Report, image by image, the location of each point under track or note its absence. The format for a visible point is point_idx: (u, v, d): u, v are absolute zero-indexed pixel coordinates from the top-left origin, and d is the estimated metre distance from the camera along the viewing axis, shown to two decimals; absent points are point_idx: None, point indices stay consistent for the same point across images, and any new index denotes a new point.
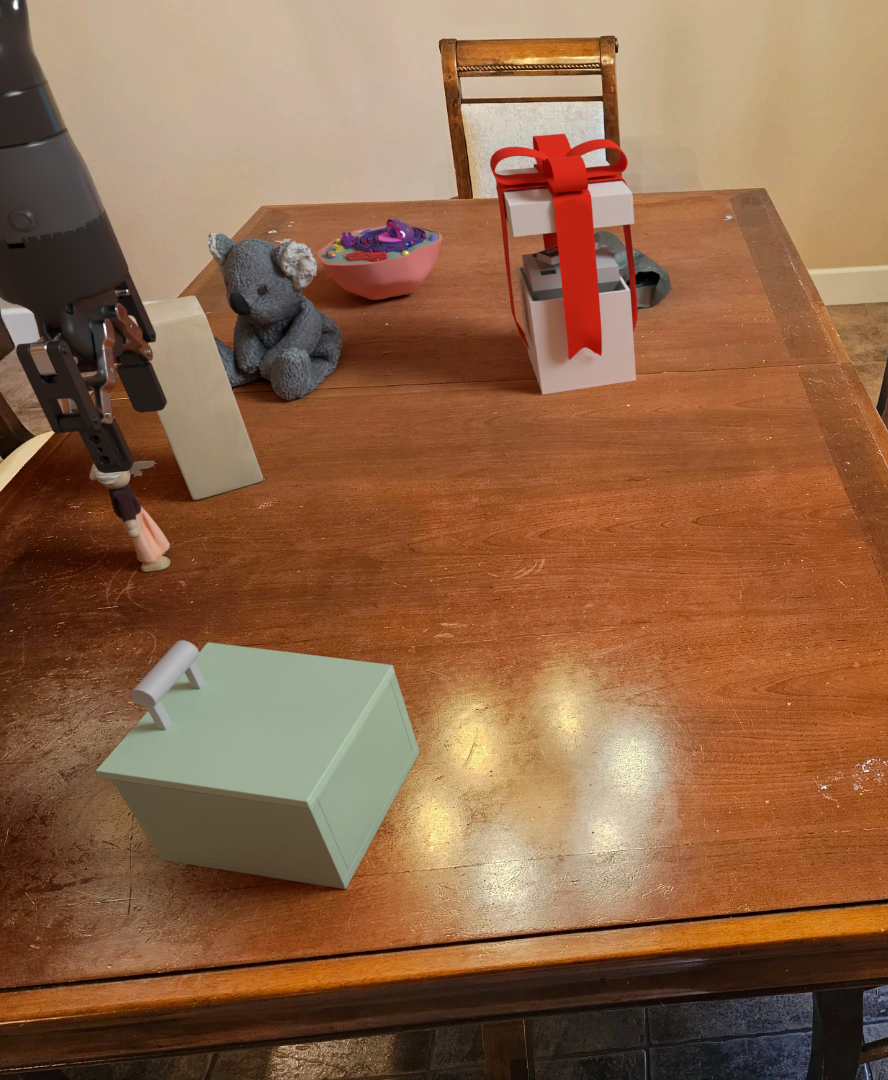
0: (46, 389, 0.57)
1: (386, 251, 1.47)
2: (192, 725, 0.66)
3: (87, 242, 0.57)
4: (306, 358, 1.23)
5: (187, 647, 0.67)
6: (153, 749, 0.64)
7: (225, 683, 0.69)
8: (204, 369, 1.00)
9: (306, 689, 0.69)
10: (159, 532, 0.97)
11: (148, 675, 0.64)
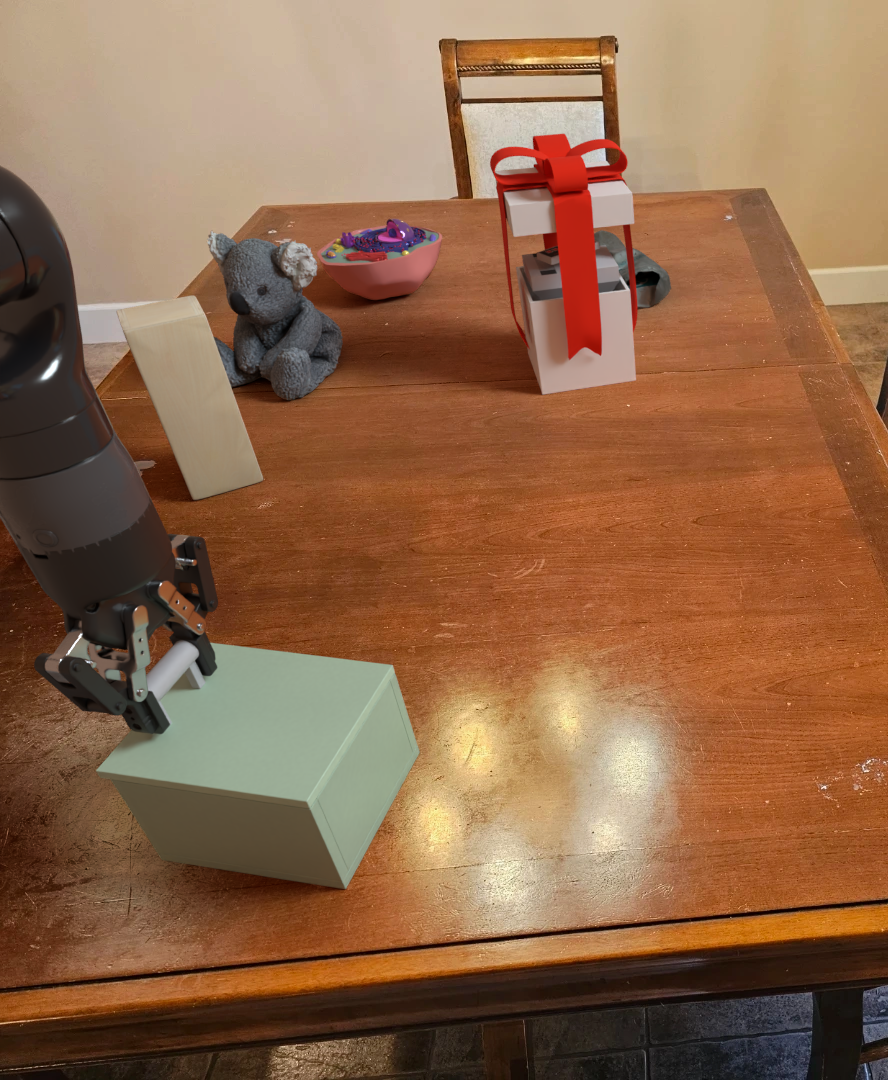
0: (67, 690, 0.58)
1: (386, 251, 1.47)
2: (192, 725, 0.66)
3: (112, 551, 0.56)
4: (306, 358, 1.23)
5: (187, 647, 0.67)
6: (153, 749, 0.64)
7: (225, 683, 0.69)
8: (204, 369, 1.00)
9: (306, 689, 0.69)
10: None
11: (148, 675, 0.64)
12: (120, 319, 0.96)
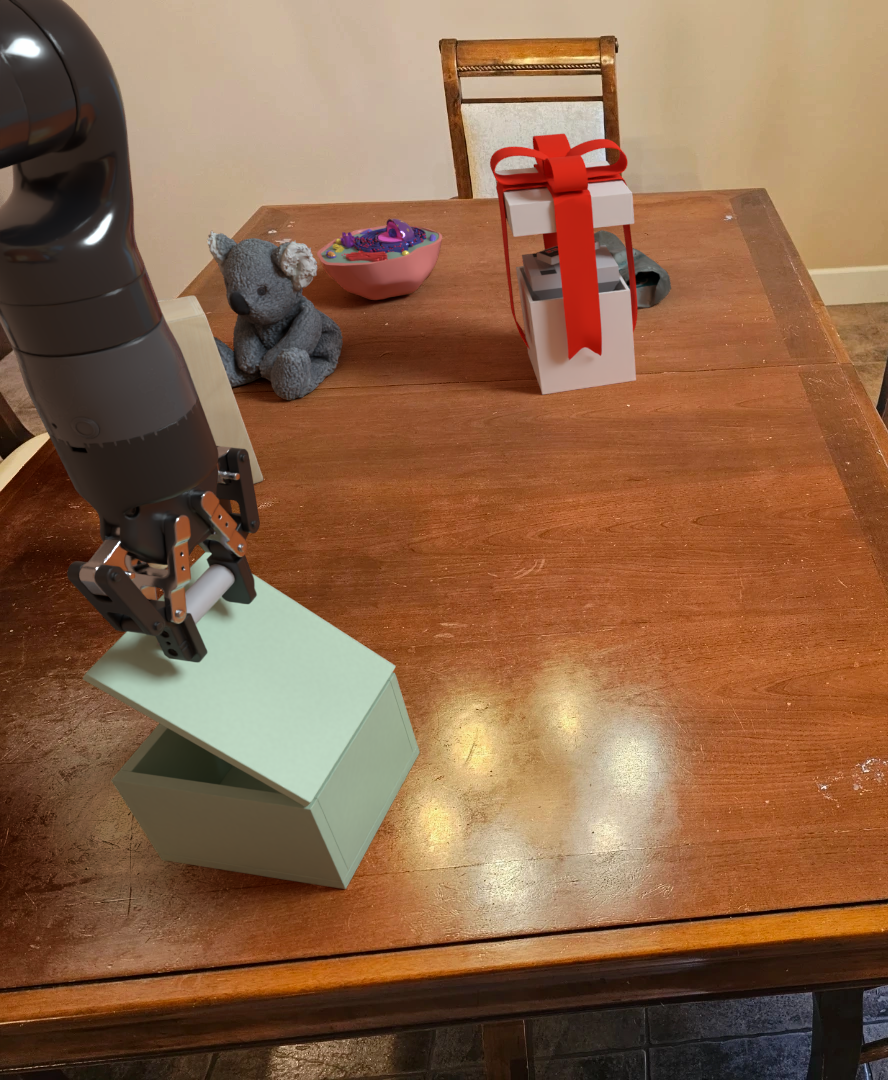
0: (102, 605, 0.52)
1: (386, 251, 1.47)
2: None
3: (158, 448, 0.50)
4: (306, 358, 1.23)
5: (229, 578, 0.61)
6: (151, 671, 0.59)
7: (230, 614, 0.64)
8: (204, 369, 1.00)
9: (313, 660, 0.67)
10: None
11: (190, 601, 0.59)
12: None
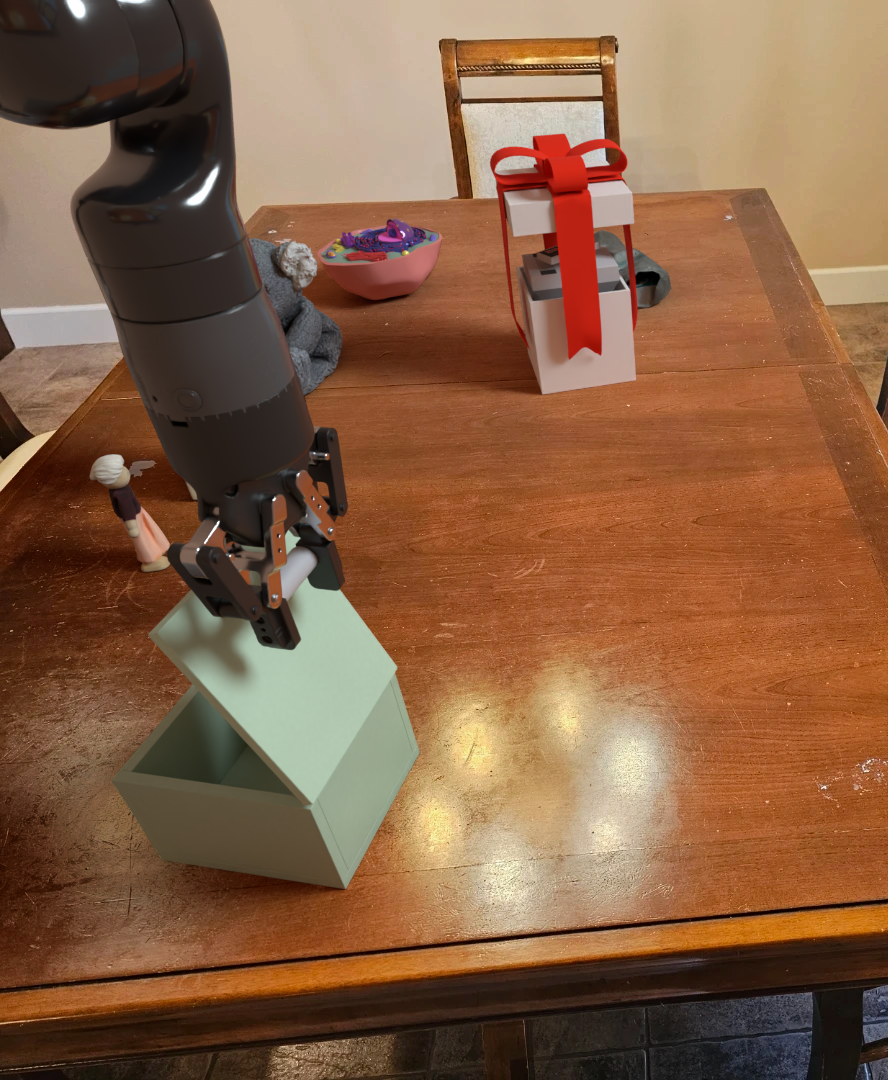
0: (201, 588, 0.50)
1: (386, 251, 1.47)
2: (247, 629, 0.59)
3: (259, 422, 0.48)
4: (306, 358, 1.23)
5: (313, 566, 0.59)
6: (210, 640, 0.56)
7: None
8: None
9: (338, 650, 0.65)
10: (159, 532, 0.97)
11: (283, 588, 0.57)
12: None
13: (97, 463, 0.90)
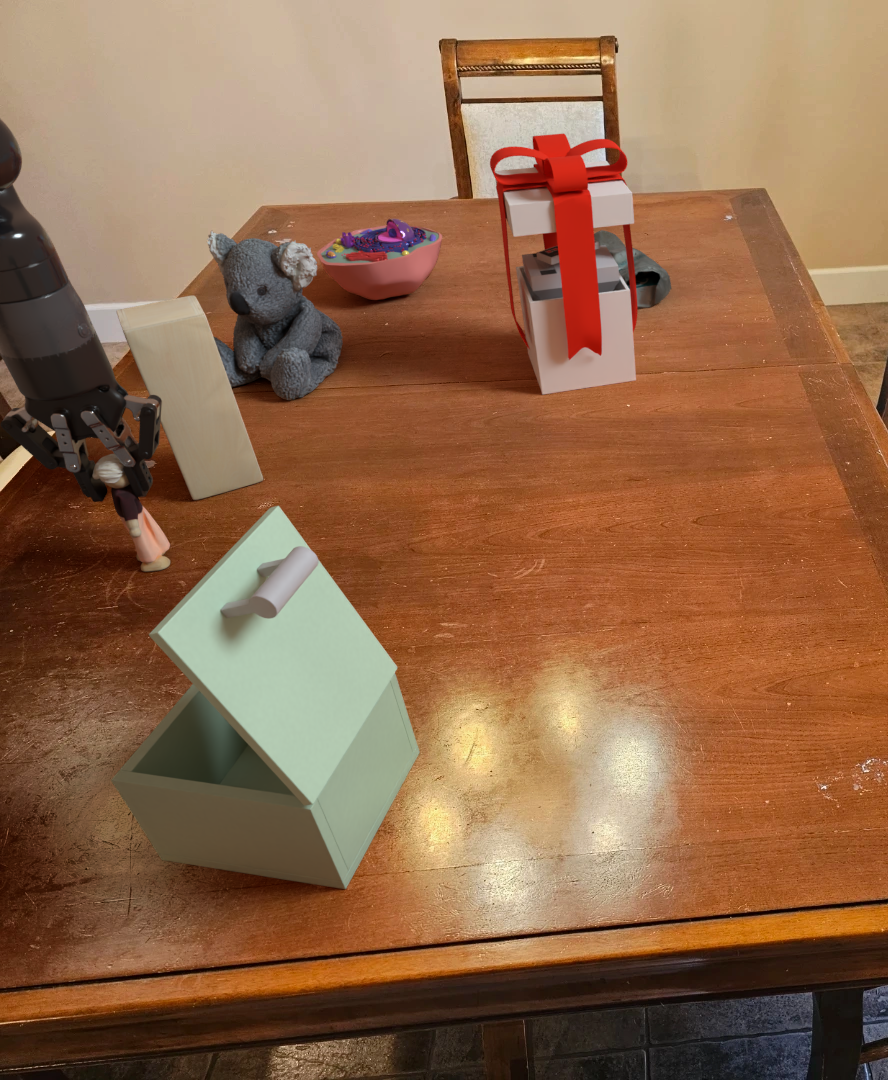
0: None
1: (386, 251, 1.47)
2: (248, 629, 0.59)
3: (16, 368, 0.81)
4: (306, 358, 1.23)
5: (314, 566, 0.59)
6: (211, 640, 0.56)
7: None
8: (204, 369, 1.00)
9: (338, 650, 0.65)
10: (160, 532, 0.97)
11: (284, 588, 0.57)
12: (120, 319, 0.96)
13: (100, 462, 0.90)
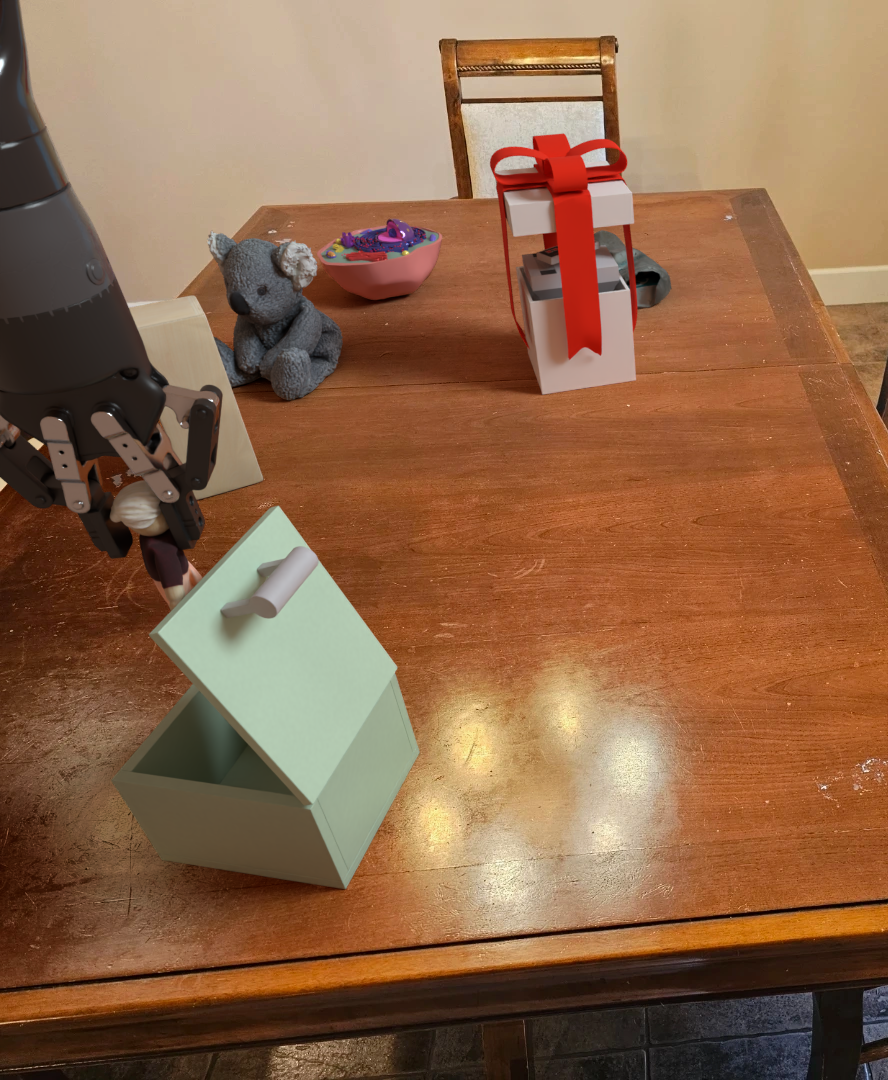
0: None
1: (386, 251, 1.47)
2: (248, 629, 0.59)
3: None
4: (306, 358, 1.23)
5: (314, 566, 0.59)
6: (211, 640, 0.56)
7: None
8: (204, 369, 1.00)
9: (338, 650, 0.65)
10: None
11: (284, 588, 0.57)
12: None
13: (123, 495, 0.55)
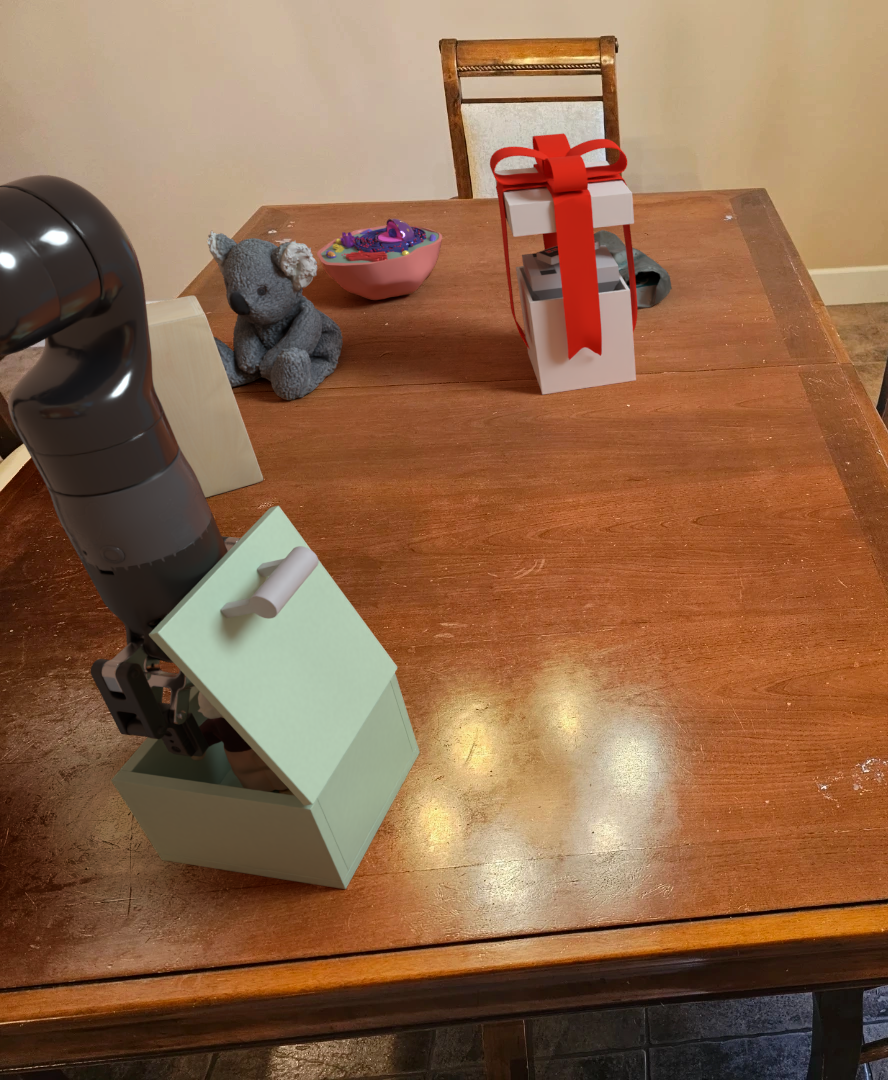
0: (115, 703, 0.57)
1: (386, 251, 1.47)
2: (248, 629, 0.59)
3: (177, 567, 0.56)
4: (306, 358, 1.23)
5: (314, 566, 0.59)
6: (211, 640, 0.56)
7: None
8: (204, 369, 1.00)
9: (338, 650, 0.65)
10: None
11: (284, 588, 0.57)
12: None
13: None
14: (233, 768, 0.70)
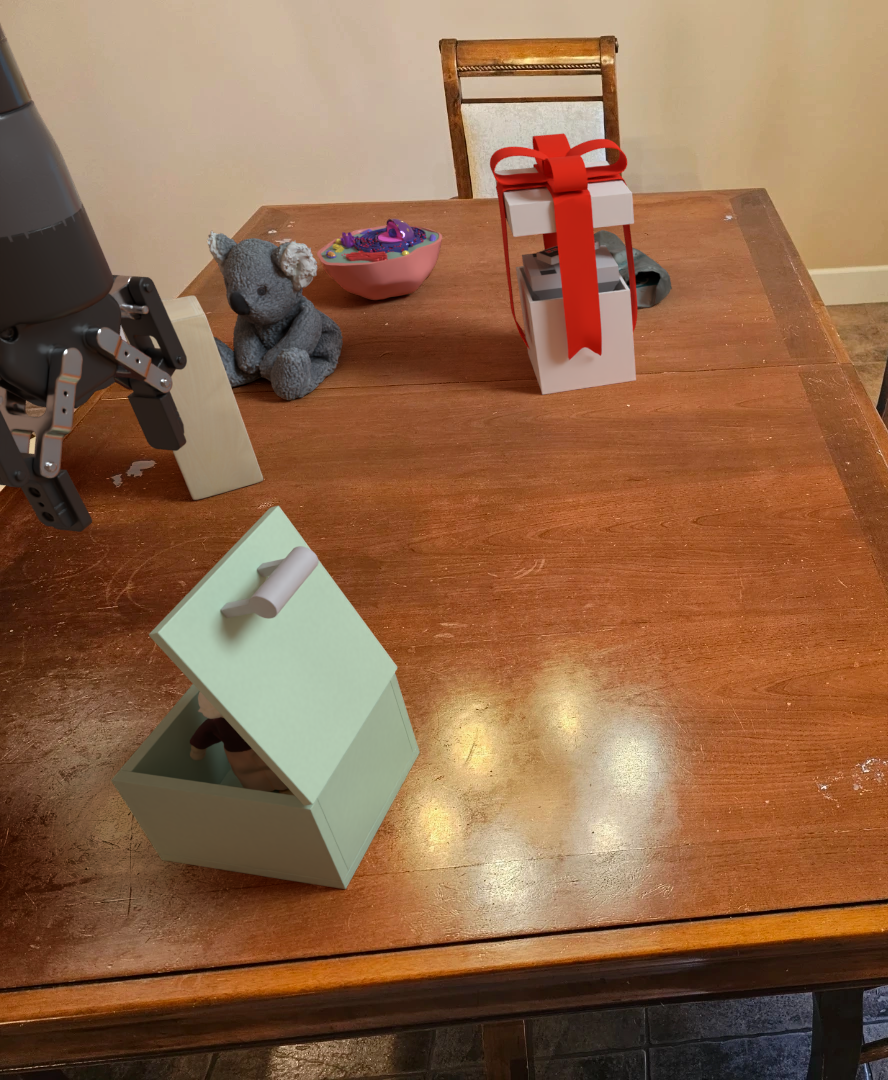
0: None
1: (386, 251, 1.47)
2: (248, 629, 0.59)
3: (31, 255, 0.44)
4: (306, 358, 1.23)
5: (314, 566, 0.59)
6: (211, 640, 0.56)
7: None
8: (204, 369, 1.00)
9: (338, 650, 0.65)
10: None
11: (284, 588, 0.57)
12: None
13: None
14: (233, 768, 0.70)
